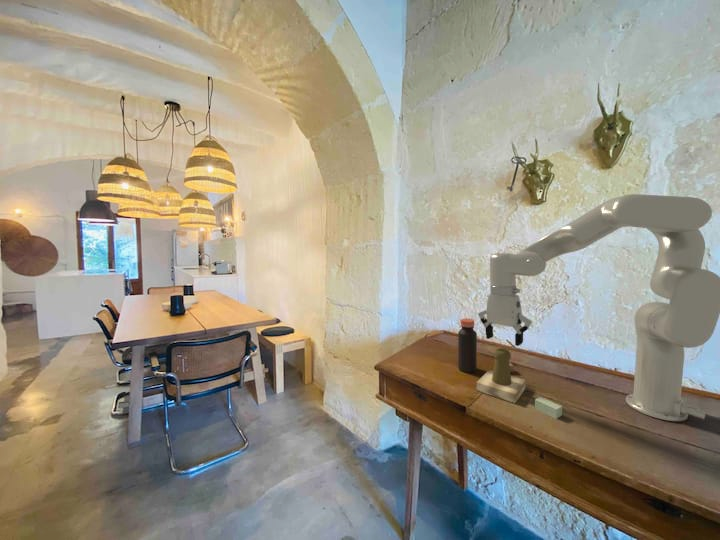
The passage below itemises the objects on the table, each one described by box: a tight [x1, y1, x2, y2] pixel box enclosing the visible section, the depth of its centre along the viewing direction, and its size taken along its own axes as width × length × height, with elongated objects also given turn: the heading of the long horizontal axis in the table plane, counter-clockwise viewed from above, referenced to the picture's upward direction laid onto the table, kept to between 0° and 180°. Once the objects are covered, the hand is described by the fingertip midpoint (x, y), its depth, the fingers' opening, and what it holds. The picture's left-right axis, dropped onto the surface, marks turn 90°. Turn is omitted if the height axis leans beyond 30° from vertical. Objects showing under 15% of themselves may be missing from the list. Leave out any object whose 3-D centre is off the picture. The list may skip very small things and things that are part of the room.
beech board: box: [476, 369, 526, 404], centre depth 97 cm, size 12×12×3 cm
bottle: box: [457, 318, 478, 374], centre depth 112 cm, size 7×7×20 cm
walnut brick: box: [494, 362, 515, 374], centre depth 110 cm, size 6×3×3 cm, turn 84°
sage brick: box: [534, 396, 563, 419], centre depth 84 cm, size 6×3×3 cm, turn 29°
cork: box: [492, 348, 512, 385], centre depth 97 cm, size 6×6×11 cm
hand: (503, 341), depth 96 cm, fingers open, 9 cm apart
